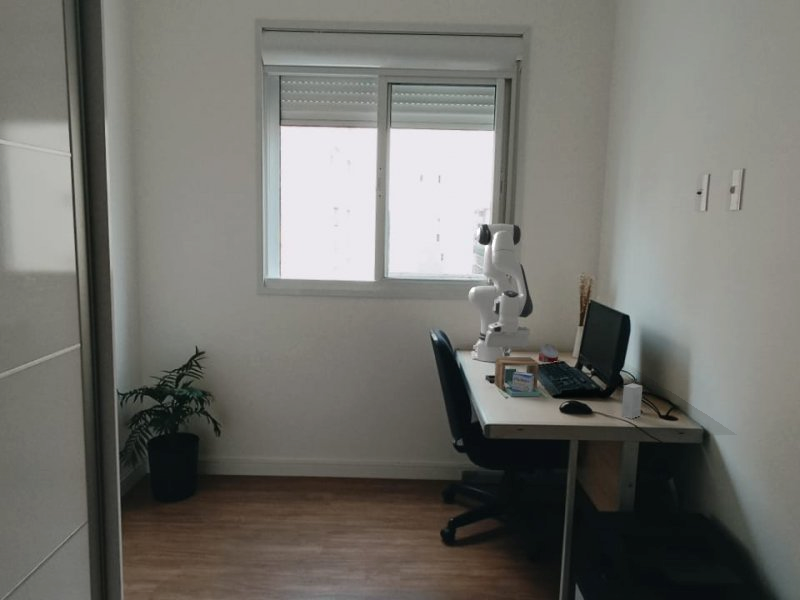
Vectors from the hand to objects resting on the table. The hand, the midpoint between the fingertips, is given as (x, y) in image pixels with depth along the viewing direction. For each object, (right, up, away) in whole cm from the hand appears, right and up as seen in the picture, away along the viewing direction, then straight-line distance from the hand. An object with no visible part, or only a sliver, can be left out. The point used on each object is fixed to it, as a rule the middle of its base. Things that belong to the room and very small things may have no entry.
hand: (506, 356), depth 250 cm
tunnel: (+1, -12, -13) cm, 18 cm away
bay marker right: (+11, -14, -22) cm, 28 cm away
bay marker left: (-6, -13, -24) cm, 28 cm away
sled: (+2, -12, -16) cm, 20 cm away
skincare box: (+37, -18, -47) cm, 63 cm away
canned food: (+30, -7, +38) cm, 49 cm away
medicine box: (+2, -13, -23) cm, 26 cm away
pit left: (-7, -11, -4) cm, 13 cm away
